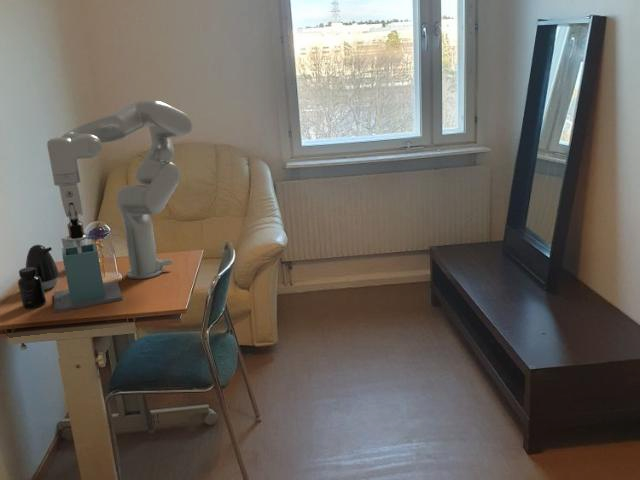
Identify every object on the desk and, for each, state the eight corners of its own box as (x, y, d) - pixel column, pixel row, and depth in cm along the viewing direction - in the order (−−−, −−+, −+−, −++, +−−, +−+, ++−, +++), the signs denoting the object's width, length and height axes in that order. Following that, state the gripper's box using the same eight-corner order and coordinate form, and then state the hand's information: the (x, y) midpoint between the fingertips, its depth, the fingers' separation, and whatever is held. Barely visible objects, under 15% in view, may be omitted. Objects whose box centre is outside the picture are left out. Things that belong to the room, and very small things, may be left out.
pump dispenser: (49, 293, 214) (41, 249, 210) (22, 293, 216) (13, 249, 212) (67, 282, 224) (59, 240, 219) (40, 282, 226) (32, 240, 221)
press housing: (117, 283, 219) (110, 238, 215) (122, 299, 204) (114, 251, 199) (54, 294, 212) (45, 248, 208) (55, 312, 197) (45, 262, 193)
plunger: (97, 282, 212) (86, 219, 206) (99, 290, 205) (87, 224, 199) (73, 287, 209) (62, 222, 203) (74, 294, 203) (62, 228, 197)
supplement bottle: (29, 301, 208) (21, 266, 205) (49, 300, 208) (42, 265, 204) (18, 309, 201) (11, 273, 198) (40, 308, 201) (33, 272, 198)
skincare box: (88, 267, 238) (82, 236, 235) (78, 271, 235) (72, 239, 231) (76, 265, 241) (70, 234, 238) (66, 269, 238) (60, 238, 234)
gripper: (80, 181, 191) (91, 240, 196) (78, 172, 206) (88, 228, 211) (53, 184, 188) (64, 244, 193) (53, 175, 203) (63, 231, 209)
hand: (76, 235), depth 202 cm, fingers closed on plunger, 4 cm apart
